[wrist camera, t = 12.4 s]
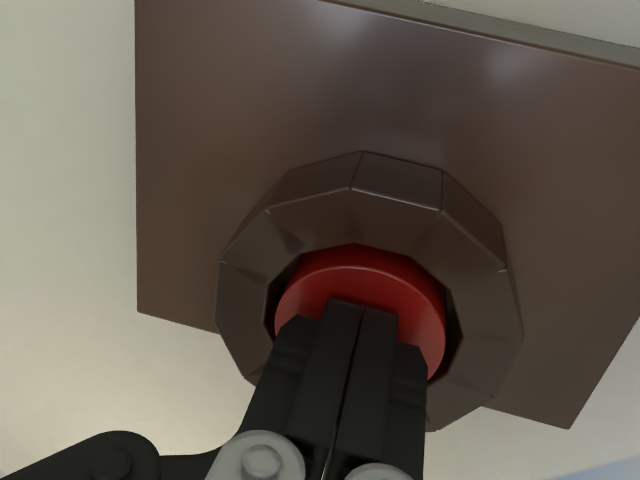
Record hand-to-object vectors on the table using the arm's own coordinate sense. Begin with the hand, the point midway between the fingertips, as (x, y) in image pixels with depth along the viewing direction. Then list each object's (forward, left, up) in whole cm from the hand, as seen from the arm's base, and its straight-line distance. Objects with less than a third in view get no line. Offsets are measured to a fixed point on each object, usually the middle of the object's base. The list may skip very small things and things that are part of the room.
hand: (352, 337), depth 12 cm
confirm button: (0, 0, -2) cm, 2 cm away
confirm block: (0, -1, -4) cm, 5 cm away
